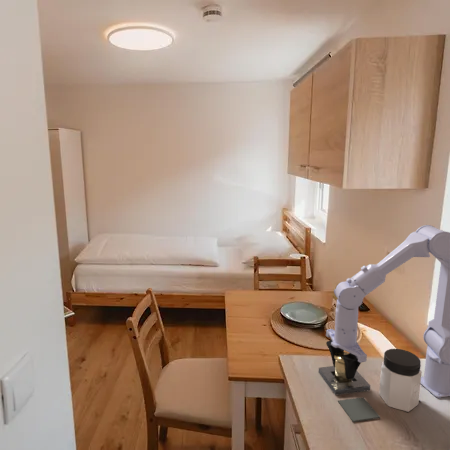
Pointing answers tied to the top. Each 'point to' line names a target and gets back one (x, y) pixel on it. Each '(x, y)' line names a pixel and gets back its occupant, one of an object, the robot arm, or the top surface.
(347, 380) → the gold rounded piece
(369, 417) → the mat
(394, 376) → the jar
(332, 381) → the housing
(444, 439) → the top surface
